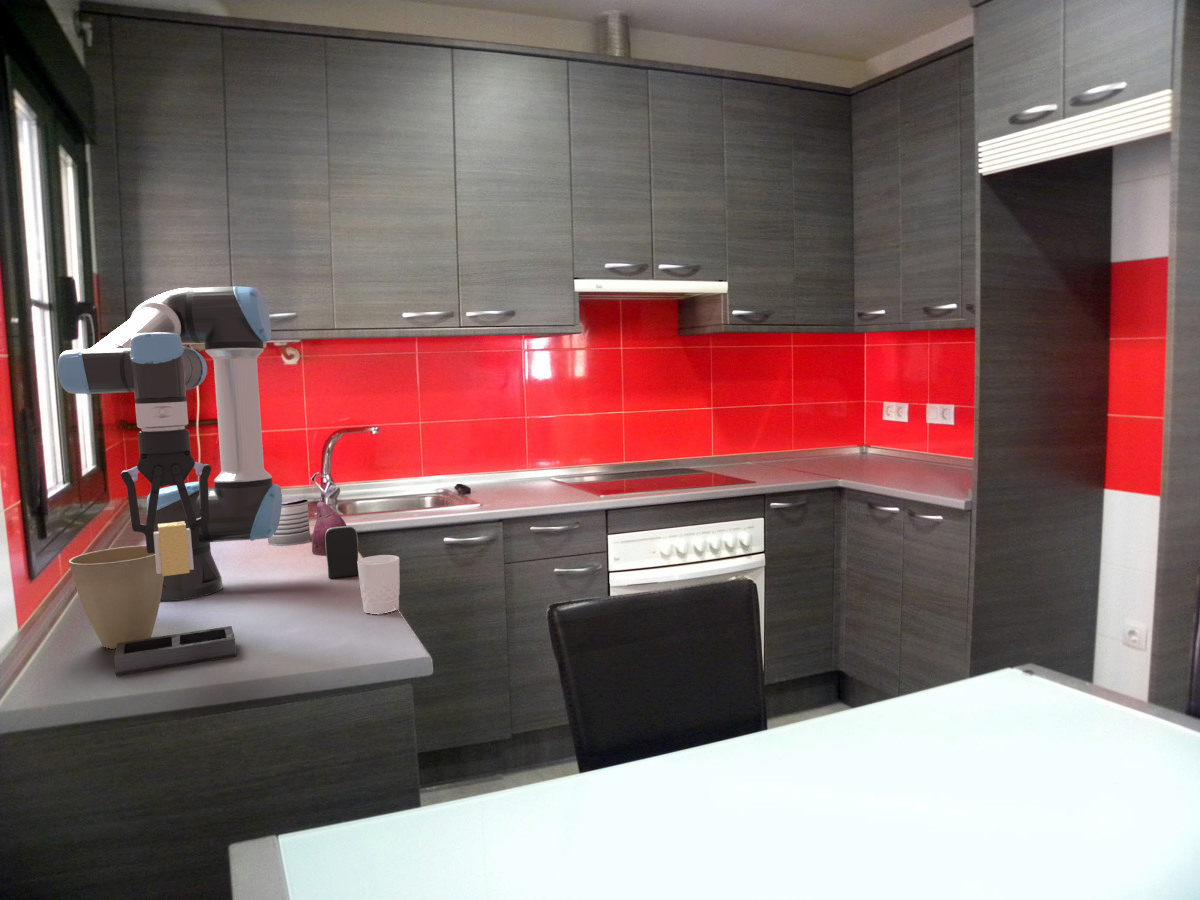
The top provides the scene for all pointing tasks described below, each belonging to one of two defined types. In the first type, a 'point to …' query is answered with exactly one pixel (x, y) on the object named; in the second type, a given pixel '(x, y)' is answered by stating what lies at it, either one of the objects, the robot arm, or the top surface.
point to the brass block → (173, 548)
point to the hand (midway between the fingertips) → (175, 569)
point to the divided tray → (174, 650)
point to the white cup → (379, 583)
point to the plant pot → (119, 592)
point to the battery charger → (341, 551)
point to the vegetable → (324, 526)
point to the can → (292, 523)
